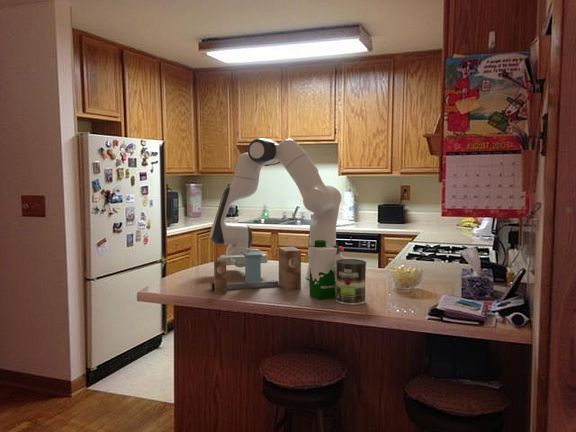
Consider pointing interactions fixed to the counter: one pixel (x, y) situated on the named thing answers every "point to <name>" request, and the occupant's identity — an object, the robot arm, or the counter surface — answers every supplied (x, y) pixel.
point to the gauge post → (220, 277)
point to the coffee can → (350, 281)
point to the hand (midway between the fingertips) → (247, 262)
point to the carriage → (253, 267)
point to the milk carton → (322, 270)
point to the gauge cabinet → (290, 268)
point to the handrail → (248, 285)
